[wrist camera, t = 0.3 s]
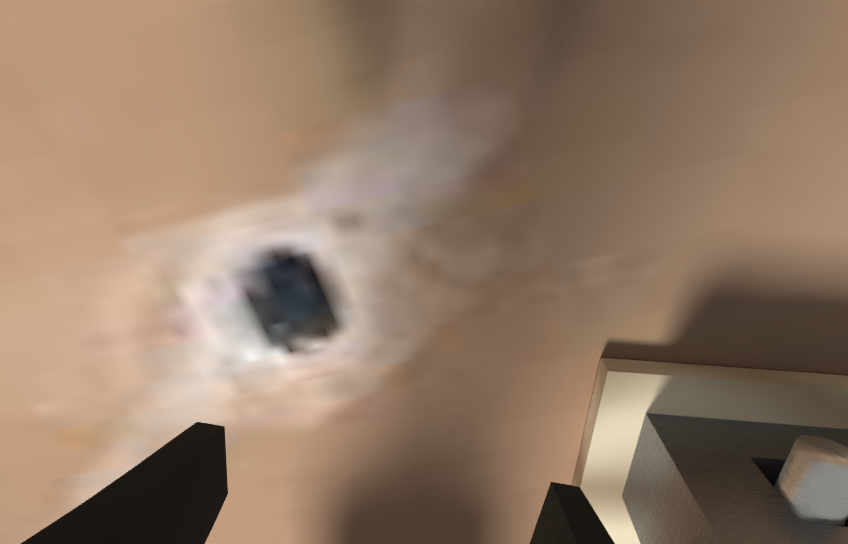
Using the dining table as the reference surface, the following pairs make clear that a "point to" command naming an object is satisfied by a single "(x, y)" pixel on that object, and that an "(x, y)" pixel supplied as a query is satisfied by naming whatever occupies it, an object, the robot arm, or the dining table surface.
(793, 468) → the shaft
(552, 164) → the dining table surface
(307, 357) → the dining table surface
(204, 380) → the dining table surface
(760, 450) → the shaft stand
